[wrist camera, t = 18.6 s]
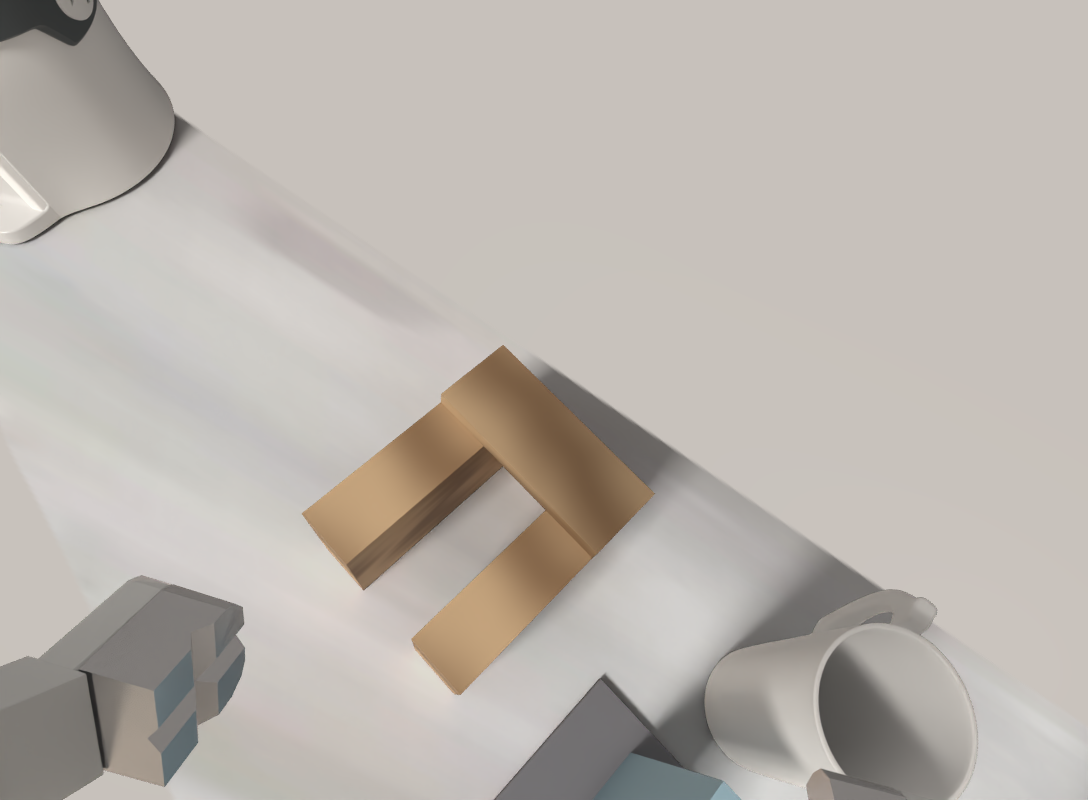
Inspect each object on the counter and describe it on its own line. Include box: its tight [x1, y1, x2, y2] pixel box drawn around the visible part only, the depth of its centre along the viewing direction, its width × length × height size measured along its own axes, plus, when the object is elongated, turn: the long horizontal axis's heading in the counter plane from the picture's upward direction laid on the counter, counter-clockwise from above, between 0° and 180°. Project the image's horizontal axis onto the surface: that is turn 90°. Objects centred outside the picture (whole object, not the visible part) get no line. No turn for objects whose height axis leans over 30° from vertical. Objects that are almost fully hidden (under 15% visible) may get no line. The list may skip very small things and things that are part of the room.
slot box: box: [302, 345, 655, 695], centre depth 33 cm, size 12×10×9 cm
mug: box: [704, 590, 978, 800], centre depth 32 cm, size 10×7×12 cm, turn 142°
